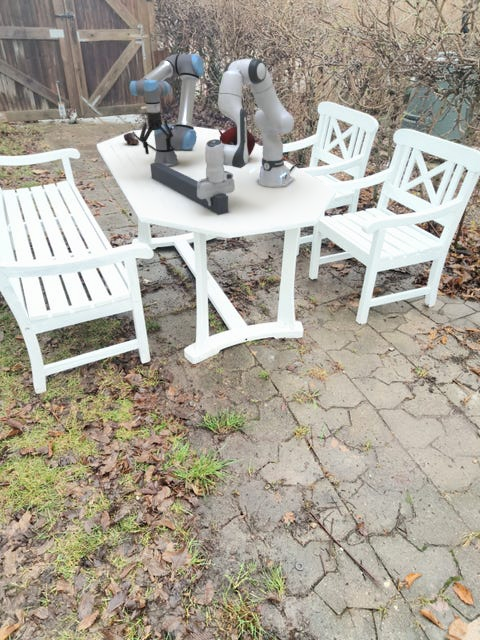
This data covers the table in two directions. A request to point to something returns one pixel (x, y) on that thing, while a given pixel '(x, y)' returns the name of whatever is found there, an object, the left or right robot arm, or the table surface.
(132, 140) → the rock
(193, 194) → the post
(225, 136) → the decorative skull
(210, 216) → the table surface
